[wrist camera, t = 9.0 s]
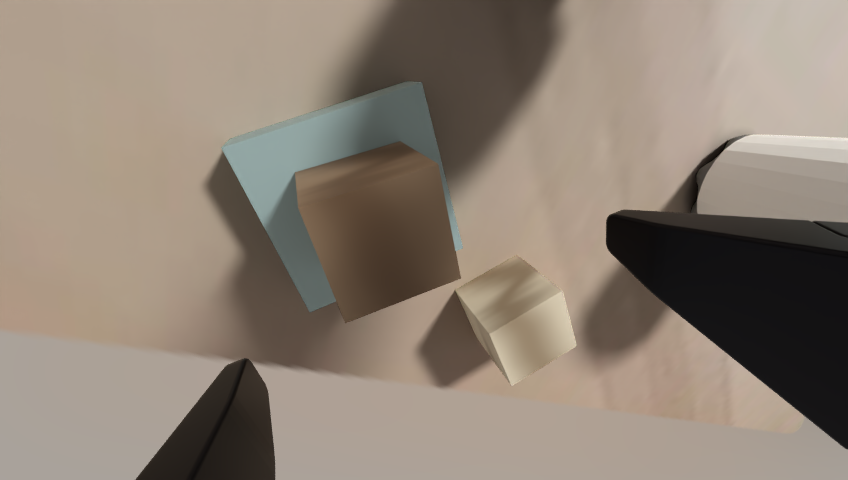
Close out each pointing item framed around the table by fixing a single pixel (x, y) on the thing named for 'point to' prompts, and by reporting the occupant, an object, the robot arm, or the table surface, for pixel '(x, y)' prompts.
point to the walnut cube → (378, 227)
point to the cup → (777, 179)
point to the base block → (318, 144)
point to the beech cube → (518, 318)
